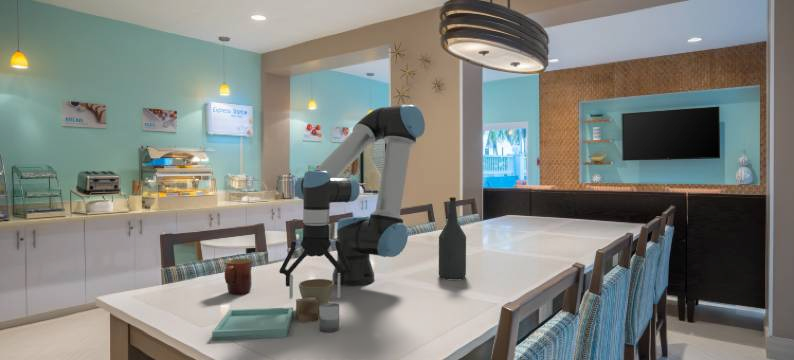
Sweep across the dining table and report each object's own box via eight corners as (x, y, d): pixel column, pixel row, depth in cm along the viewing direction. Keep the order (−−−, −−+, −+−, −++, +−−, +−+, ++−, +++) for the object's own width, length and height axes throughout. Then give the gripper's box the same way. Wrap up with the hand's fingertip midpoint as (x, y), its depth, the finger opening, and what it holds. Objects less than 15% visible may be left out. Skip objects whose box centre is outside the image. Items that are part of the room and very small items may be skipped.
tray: (293, 314, 125) (293, 307, 125) (286, 337, 108) (286, 328, 108) (229, 317, 123) (229, 309, 123) (212, 340, 106) (212, 331, 106)
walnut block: (314, 315, 125) (314, 297, 125) (318, 320, 120) (318, 302, 120) (296, 317, 123) (296, 299, 123) (299, 323, 118) (299, 304, 118)
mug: (234, 288, 153) (234, 257, 153) (258, 289, 151) (258, 259, 151) (213, 297, 141) (213, 265, 141) (239, 299, 139) (239, 266, 139)
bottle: (470, 276, 172) (470, 197, 171) (459, 281, 163) (459, 198, 163) (445, 272, 177) (446, 196, 176) (433, 277, 169) (434, 197, 168)
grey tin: (339, 325, 116) (339, 302, 116) (339, 332, 111) (339, 308, 111) (319, 326, 116) (319, 303, 116) (318, 333, 111) (318, 309, 111)
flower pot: (301, 302, 136) (301, 279, 136) (334, 302, 137) (334, 278, 137) (296, 313, 126) (296, 287, 126) (332, 312, 127) (332, 287, 127)
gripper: (358, 222, 137) (357, 292, 137) (273, 222, 133) (272, 294, 133) (360, 225, 129) (358, 299, 129) (270, 225, 126) (269, 301, 126)
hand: (315, 297), depth 131 cm, fingers open, 13 cm apart
